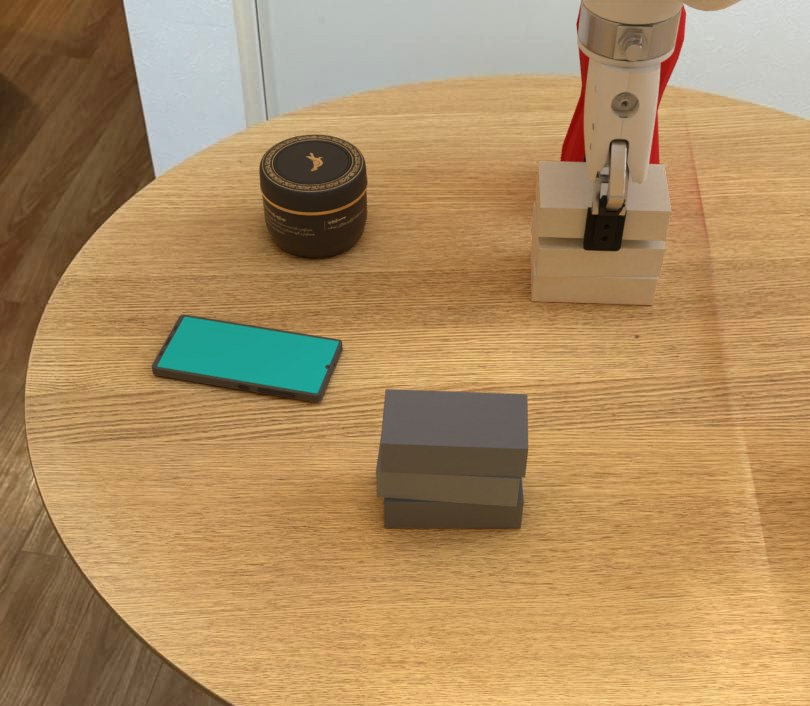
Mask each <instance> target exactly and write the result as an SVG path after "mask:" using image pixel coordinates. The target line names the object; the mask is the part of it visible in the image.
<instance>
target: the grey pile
mask: <svg viewBox="0 0 810 706" xmlns="http://www.w3.org/2000/svg"><path fill="white" fill-rule="evenodd" d="M528 398H529V397H528V394H527V393H509V392H507V393H505V392H480V391H478V392H477V391H454V390H453V391H450V390H423V389H419V390H418V389H398V388H397V389H395V388H394V389H393V388H385V390H384V399H383V400H384V401H383V411H382V412H383V413H382V422H381V430H380V431H381V432H380V440H379V447H378V453H377V461H376V466H375V467H376V468H375V482H376V483H375V486H376V498H379V499H383V525H384V526H383V528H384V529H521V528H522V523H523V513H524V503H525V499H524V490H523V489H524V488H523V479H524V478H526V473H527V466H528V456H529V404H528V403H529V400H528Z"/></svg>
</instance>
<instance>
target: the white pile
mask: <svg viewBox="0 0 810 706" xmlns="http://www.w3.org/2000/svg"><path fill="white" fill-rule="evenodd" d="M530 228H531V229H530V232H531V243H530V254H529V256H530V257H529V259H530V263H529V264H530V301H531V302H540V303H541V302H542V303H544V302H545V303H568V304H569V303H570V304H572V303H573V304H601V305H628V306H629V305H631V306H633V305H634V306H653V305H654V302H655V297H656V292H657V287H658V283H659V277H661V274H662V269H663V265H664V259H665V255H666V251H667V248H666V244H665V241H656V240H623V239H622V243H621V248H620V250H619V251H587V250H584V248H583V239H584V238H558V237H537V208H536V201H533V205H532V216H531V225H530Z"/></svg>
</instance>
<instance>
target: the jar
mask: <svg viewBox="0 0 810 706" xmlns="http://www.w3.org/2000/svg"><path fill="white" fill-rule="evenodd" d="M258 167H259V168H258V169H259V170H258V171H259V172H258V174H259V188H260V192H261V199H262V207H263V214H264V222H265V225H266V228H267V230H268V233H269V234H270V237H271V239H272V240H273V242H274V243H275V244H276V245H277V246H278V247H279V248H281V249H282V250H283V251H285V252H287V253H288V254H291V255H292V256H296V257H300V258H304V259H325V258H330V257H331V258H332V257H334V256H338V255H341V254H342V253H345V252H347V251H348V250H350V249H351V248H352V247H354V246H355V245H356V243H357V242H359V241H360V239H361V237H362V236H363V233H364V231H365V228H366V223H367V220H368V195H367V194H368V192H367V191H368V184H369V179H368V174H367V164H366V160H365V157H364V155H363V153H362V151H361V150H360V149H359V148H358V147H357V146H355V144H353V143H351V142H350V141H348V140H345V139H343V138H340V137H337V136H333V135H328V134H316V133H315V134H302V135H297V136H293V137H289V138H286V139H283V140H281V141H279V142H277V143H276V144H274V145H272V146H271V147H270V148H269V149H267V151H265V152H264V154H263V155H262V156H261V160H260V162H259V166H258Z"/></svg>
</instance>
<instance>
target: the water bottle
mask: <svg viewBox="0 0 810 706" xmlns="http://www.w3.org/2000/svg"><path fill="white" fill-rule="evenodd" d="M581 3H582V0H580V5H579V10H578V14H577V19H576V24H575V25H576V34H577V35H576V36H577V37H576V38H578V29H579V20H580V12H581ZM686 19H687V11H686V8H685V4H683V6H682V11H681V16H680V21H679V27H678V32H677V38H676V43H675V48H674V52H673V53H672V55H671V56H670V57H669V58H668V59H666V60H665V61H663V62H661V65H660V81H659V92H658V101H657V109H656V117H655V124H654V131H653V138H652V145H651V152H650V160H649V164H661V163H660V136H659V107H660V104H661V101H662V98H663V95H664V92H665V90H666V88H667V86H668V83H669V81H670V78H671V76H672V74H673V72H674V70H675V67H676V65H677V63H678V60H679V58H680V55H681V51H682V49H683V45H684V41H685V34H686V21H687V20H686ZM577 47H578V59H579V68H580V79H581V87H580V95H579V97H578V100H577V103H576V106H575V109H574V112H573V114H572V117H571V120H570V123H569V125H568V129H567V131H566V135H565V137H564V140H563V143H562V145H561V152H560V161H561V162H583V159H584V155H586V154H585V141H584V104H585V92H586V83H587V74H588V66H589V59H590V57H588V56H586V55H585V54H584V53H583V52H582V51H581V50H580V48H579V46H578V45H577Z"/></svg>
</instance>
